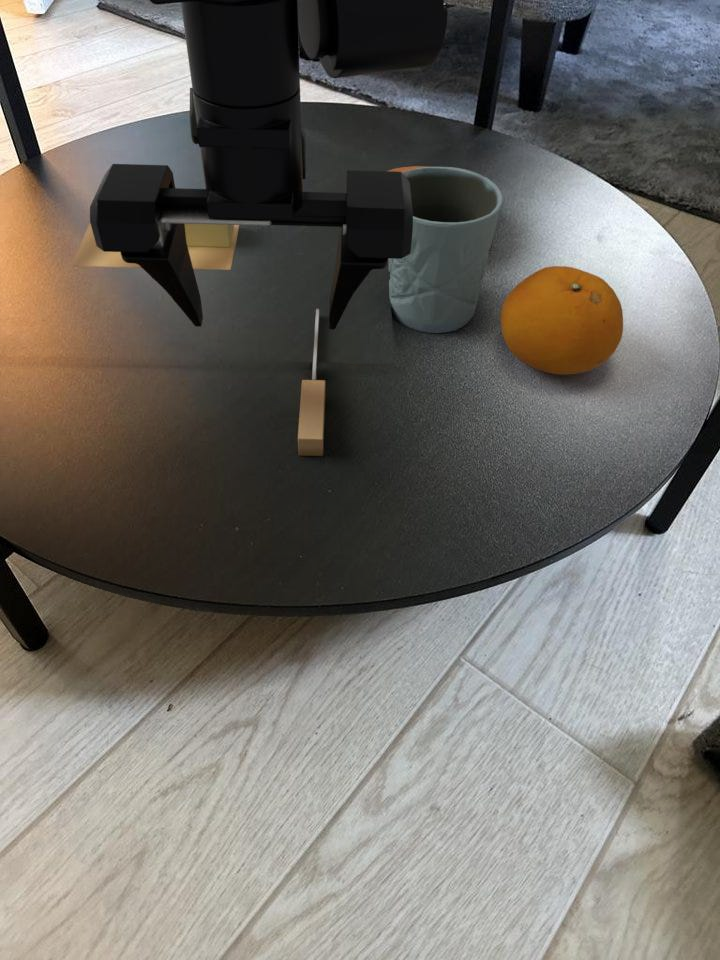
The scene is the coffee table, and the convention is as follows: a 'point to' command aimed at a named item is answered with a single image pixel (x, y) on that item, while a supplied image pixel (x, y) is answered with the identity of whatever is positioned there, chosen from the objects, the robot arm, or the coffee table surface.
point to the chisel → (312, 409)
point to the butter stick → (208, 235)
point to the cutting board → (98, 258)
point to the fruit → (562, 320)
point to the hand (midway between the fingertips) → (265, 324)
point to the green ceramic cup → (444, 248)
